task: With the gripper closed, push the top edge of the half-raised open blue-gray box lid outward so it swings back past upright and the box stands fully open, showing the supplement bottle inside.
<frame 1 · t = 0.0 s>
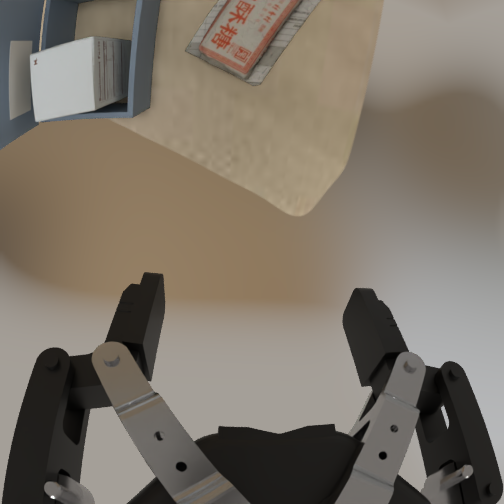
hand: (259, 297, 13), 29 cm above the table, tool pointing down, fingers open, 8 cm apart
packaged product: (260, 11, 28), on the table
lid: (11, 60, 17), point 13 cm above the table, hinge at 80.0°
open blue-gray box: (109, 49, 29), on the table
supplement box: (109, 71, 31), resting in open blue-gray box
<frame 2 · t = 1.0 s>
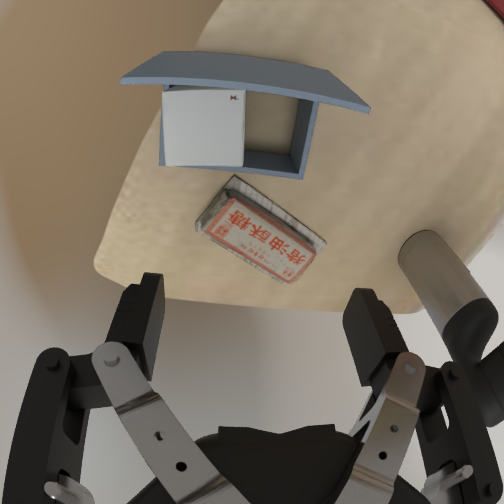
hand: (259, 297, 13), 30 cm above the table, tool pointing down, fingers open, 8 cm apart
packaged product: (261, 231, 47), on the table
lid: (247, 69, 22), point 13 cm above the table, hinge at 80.0°
open blue-gray box: (237, 108, 35), on the table
supplement box: (213, 107, 35), resting in open blue-gray box
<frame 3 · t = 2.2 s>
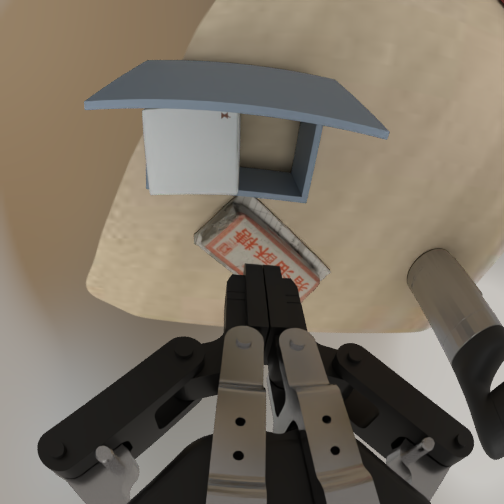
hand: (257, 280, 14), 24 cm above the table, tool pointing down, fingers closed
packaged product: (264, 251, 43), on the table
lid: (240, 82, 18), point 13 cm above the table, hinge at 80.0°
open blue-gray box: (233, 121, 32), on the table
supplement box: (207, 120, 32), resting in open blue-gray box
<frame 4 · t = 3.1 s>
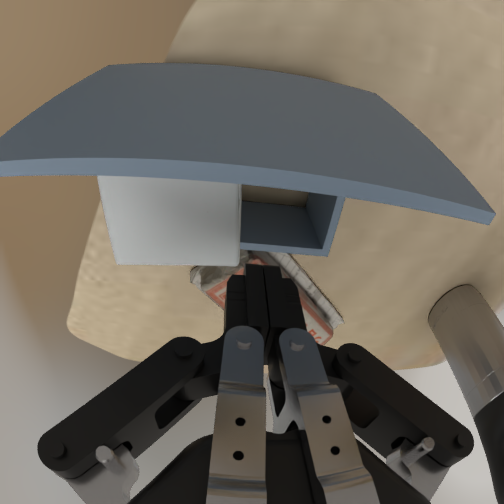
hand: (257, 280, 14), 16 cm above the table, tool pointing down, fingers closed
packaged product: (272, 294, 36), on the table
lid: (242, 99, 11), point 13 cm above the table, hinge at 80.0°
open blue-gray box: (233, 142, 25), on the table
supplement box: (197, 141, 25), resting in open blue-gray box
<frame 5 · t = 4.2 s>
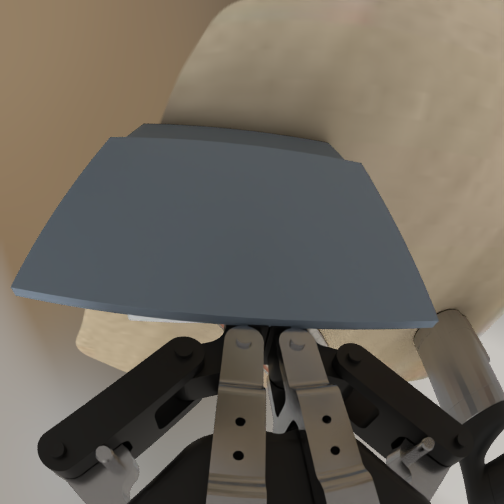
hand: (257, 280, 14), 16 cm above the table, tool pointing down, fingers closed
lid: (233, 205, 14), point 13 cm above the table, hinge at 80.1°, touching gripper
open blue-gray box: (228, 193, 28), on the table
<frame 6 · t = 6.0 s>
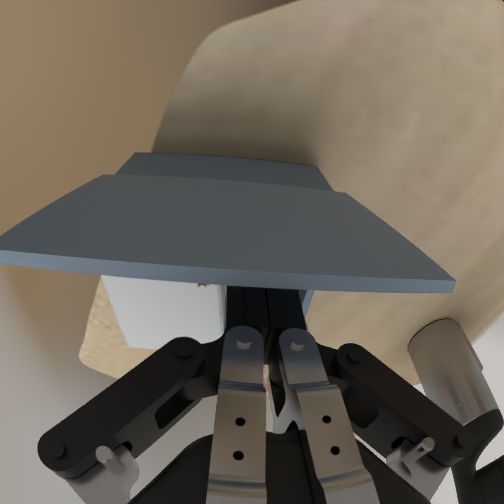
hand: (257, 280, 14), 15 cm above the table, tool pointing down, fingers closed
lid: (221, 211, 14), point 13 cm above the table, hinge at 100.8°
open blue-gray box: (220, 217, 29), on the table
supplement box: (189, 216, 29), resting in open blue-gray box
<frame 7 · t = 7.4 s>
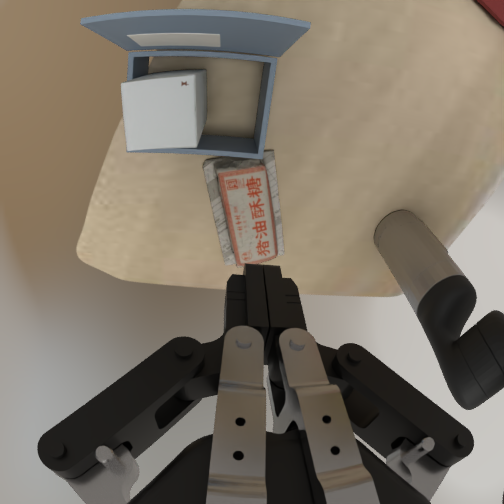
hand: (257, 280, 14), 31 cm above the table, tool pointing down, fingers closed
packaged product: (246, 208, 47), on the table
lid: (197, 33, 21), point 13 cm above the table, hinge at 100.9°
open blue-gray box: (202, 95, 36), on the table
supplement box: (179, 96, 36), resting in open blue-gray box
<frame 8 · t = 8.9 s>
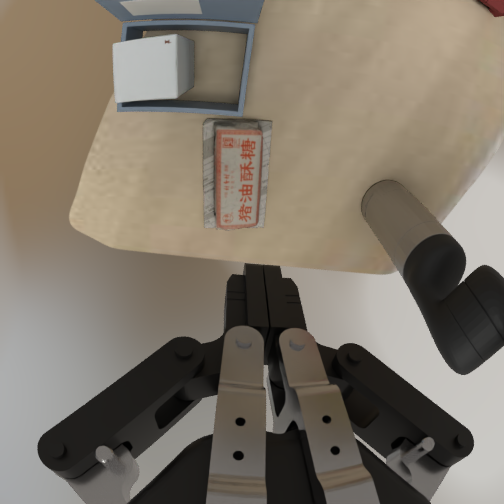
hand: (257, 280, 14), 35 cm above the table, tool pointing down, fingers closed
packaged product: (235, 173, 48), on the table
open blue-gray box: (189, 65, 37), on the table
supplement box: (169, 66, 37), resting in open blue-gray box
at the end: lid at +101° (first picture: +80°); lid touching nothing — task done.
